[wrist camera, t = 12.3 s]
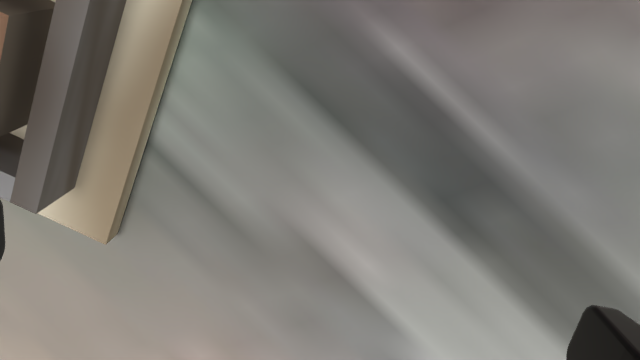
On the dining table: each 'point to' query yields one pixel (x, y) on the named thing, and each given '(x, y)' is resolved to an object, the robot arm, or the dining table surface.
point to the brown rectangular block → (21, 57)
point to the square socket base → (92, 111)
